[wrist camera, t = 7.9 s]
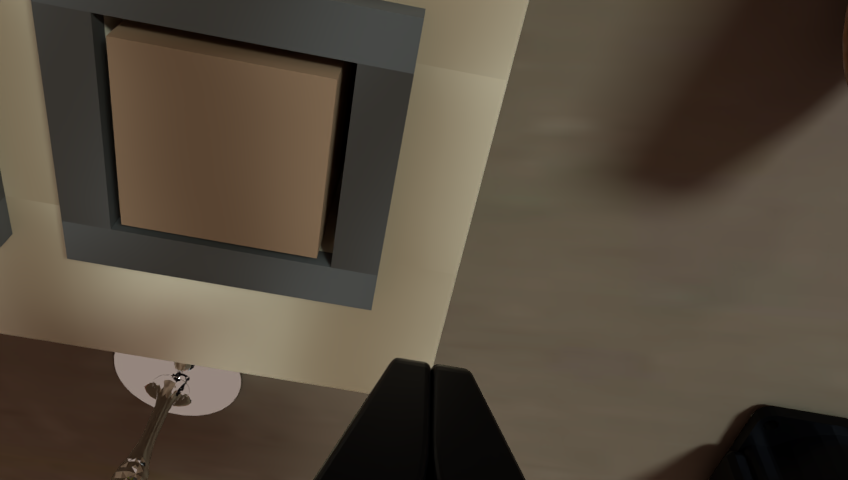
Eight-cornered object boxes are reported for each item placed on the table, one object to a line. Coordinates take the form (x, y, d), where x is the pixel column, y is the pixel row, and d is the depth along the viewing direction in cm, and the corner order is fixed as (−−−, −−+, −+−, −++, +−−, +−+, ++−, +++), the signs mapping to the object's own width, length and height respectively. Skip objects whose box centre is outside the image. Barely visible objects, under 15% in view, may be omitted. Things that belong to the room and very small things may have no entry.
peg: (370, -11, 17) (336, 80, 13) (350, 140, 19) (316, 258, 15) (198, -45, 17) (105, 35, 12) (199, 112, 19) (121, 224, 15)
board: (548, -209, 15) (580, -177, 10) (432, 278, 22) (421, 418, 18) (-377, -408, 14) (-784, -469, 9) (-172, 173, 21) (-342, 294, 17)
